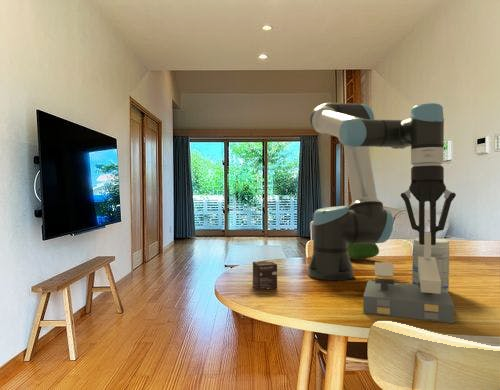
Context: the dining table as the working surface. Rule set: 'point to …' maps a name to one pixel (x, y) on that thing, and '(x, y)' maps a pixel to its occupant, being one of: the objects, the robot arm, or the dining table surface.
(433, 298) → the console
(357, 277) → the dining table surface
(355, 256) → the fruit
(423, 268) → the switch right
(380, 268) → the switch left
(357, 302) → the dining table surface
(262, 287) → the box
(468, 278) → the dining table surface
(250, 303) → the dining table surface
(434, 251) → the supplement tub
